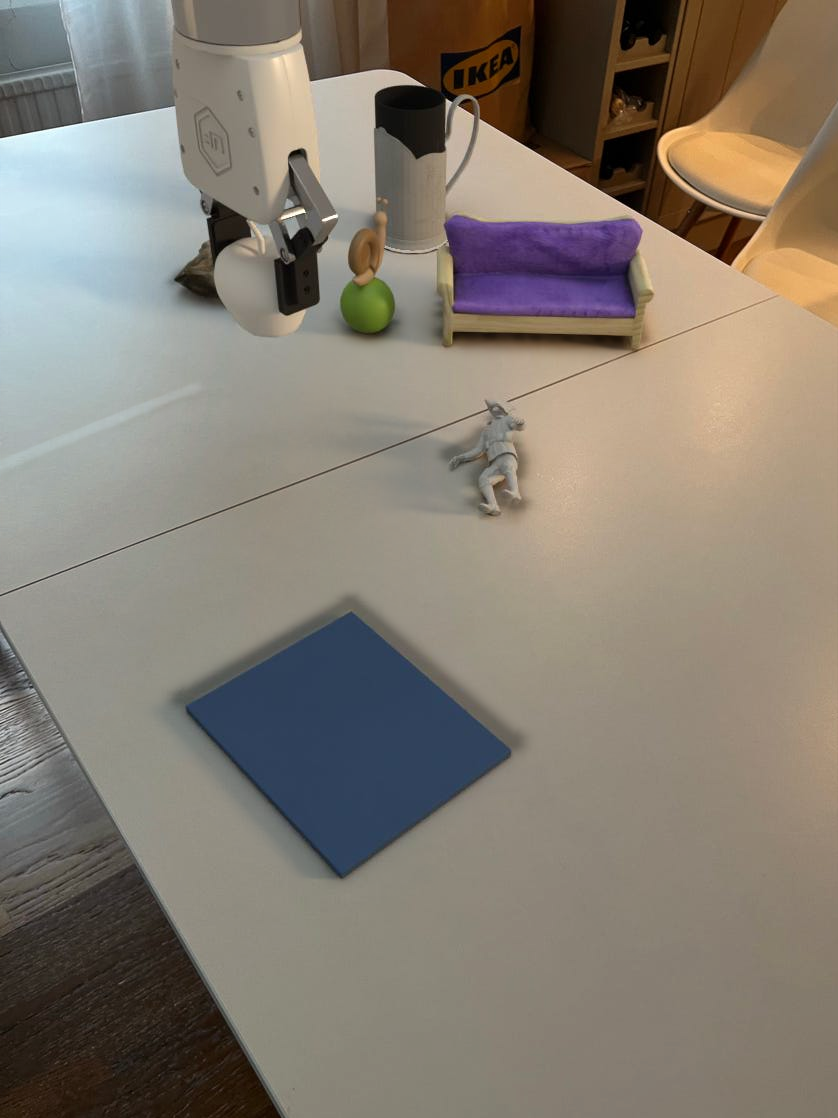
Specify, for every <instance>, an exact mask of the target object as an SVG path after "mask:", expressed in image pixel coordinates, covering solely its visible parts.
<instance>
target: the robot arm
mask: <svg viewBox="0 0 838 1118" xmlns="http://www.w3.org/2000/svg"><path fill="white" fill-rule="evenodd" d="M170 3H171V10H172V11H171V12H172V17H173V25H172V41H171V46H172V47H171V60H172V61H171V63H172V64H171V65H172V83H173V97H174V99H173V100H174V109H175V118H176V119H175V120H176V128H177V129H176V130H177V136H178V146H179V152H180V159H181V164H182V165H181V166H182V170H183V175H184V176H185V178H186V179H187V181H188V182H189V183H190V184H191V185H192V186H193V187H194V188H196V189H197V190H198V191H199V193H200V200H199V205H200V209H201V211H202V213H203V214H204V215H205V216H207V218H206V227H207V233H208V241H209V240H210V247H211V254H212V261H213V268H215V263H216V259H217V257H218V255H219V254H220V252H221V251H222V250H223V249H224V248H225V247H227V246H229V245H231V244H232V243H234V242H236V241H237V240H240V239H242V238H248V237H252V230H251V228H250V226H249V225H248V223H247V221H246V220H247V219H249V220H251V221H253V223H254V224H257V225H260V226H266V225H268V227H269V231H270V233H271V236H273V239H274V241H275V244H276V247H277V250H278V253H279V255H280V258H278V259H275V260H274V268H275V278H276V288H277V298H278V308H279V312H280V313H282V314H283V315H285V316H289V315H291V314H294V313H297V312H299V311H302V310H304V309H307V310H308V309H309V308H311V307H314V306H317V305H318V304H319V303H320V300H321V295H320V279H319V263H318V254H320V253H322V251H323V246H324V245H325V244H326V243H327V242H328V240H329V236H330V235H331V233H332V231H333V230H334V228H335V227H336V225H337V224H338V222H339V217H338V216H339V215H338V213H337V211H336V209H335V207H334V206H333V203H331V201H330V199H329V197H328V196H327V194H326V193H325V191H324V188H323V187H322V179H321V178H322V177H321V175H322V173H321V172H322V171H321V156H320V146H319V135H318V129H317V128H318V127H317V121H316V112H315V105H314V97H313V91H312V85H311V80H310V74H309V70H308V64H307V61H306V60H307V59H306V56H305V50H304V45H303V44H302V43H300V42H301V41H302V38H303V32H302V15H301V1H300V0H170ZM287 200H289V201H290V202H292V204H293V206H290V207H288V208H285V207H286V203H287ZM293 218H295V219H296V221H297V225H298V227H299V229H298V230H297V231H296V232H295V234H294V235H293V236H292V237H291V236H290V234H289V230H288V227H287V226H286V222H285V221H286V220H289V219H293Z"/></svg>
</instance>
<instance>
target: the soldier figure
mask: <svg viewBox="0 0 838 1118" xmlns="http://www.w3.org/2000/svg"><path fill="white" fill-rule="evenodd" d="M483 402H485V405H486V406H487V409H488V412H489V413H490V415H491V416H492V417H493V418H491V419H490V420H489V421H488V422H486V425H487V426H486V427H485V428H484V429H483V430H482V433H481V435H480V437H479V440H478V441H477V444H476V445H475V446H474V448H472V449H471V450H469V451H467V452H463V453H461V454H459V455H455V456H453V457H452V458H451V459H450V460H449V462H448V466H451V464H453V463H454V468H457V466H458V464H459V463H460V462H461V463H463V462H464V463H465V462H468V461H472V460H476V459H479V458H480V457H481V456H484V454H485V455H486V456H487V460H488V466H489V467H486V468H485V469H484V470H483V472H482V473H481V474H480V475H479V476H478V478H477V483H478V490H479V492H480V494H482V495H483V497H484V499H485V500H486V503H483V502H481V503H479V504H478V505H477V509H478V510H479V511H480V512H481V513H483V514H491V515H492V516H499V515H500V514H501V508H500V506H499V504H498V502H497V499H496V496H495V492H494V487H493V486H495V485H496V484H498V483H499V482H502V481H503V480H506V482H507V485H508V487H509V490H508V489H502V491H501V493H500V494H501V497H502V498H503V499H504V500H505V501H511V502H512V503H513V504H520V503H522V496H521V494H520V492H519V486H518V485H519V484H518V476H517V470H518V466H519V465H518V463H519V456H518V454H517V451H516V448H515V445H514V436H515V432H523V431H525V430H526V428H527V427H526V421H525V420H524V419H523V418H521V417H518V416H514V414H513V415H512V414H511V412H513V411H515V410H517V407H516V406H515V405H513V404H512V403H510V402H509V401H508V400H503V399H498V398H495V397H490V398H485V399H484V401H483Z"/></svg>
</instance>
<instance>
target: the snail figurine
mask: <svg viewBox="0 0 838 1118" xmlns="http://www.w3.org/2000/svg"><path fill="white" fill-rule="evenodd" d="M381 201H382V204H383V205H385V212H382V211H380V206H379V211H378V212H376V211H375V213H374V215H373V217H372V218H373V224H374V225H373V229H371V228H368V227H364V228H361V229H359V230H358V231H357V232H355V234H354V236H353V237H352V239H351V241H350V243H349V247H348V252H347V262H348V263H347V264H348V267H349V269H350V271H351V272H352V273H353V274H354V277H352V280H350V281H349V282H348V283H347V284H346V285H345V287H344V288H343V289H342V292H341V295H340V298H339V299H340V301H339V307H340V312H341V315H342V318H343V319H344V321H345V322H346V324H348V326H350V327H351V328H352V329H354V330H355V331H357V332H359V333H364V334H374V333H377V332H380V331H381V330H383V329H385V328H386V327H388V325H389V324H390V322H391V321H392V319H393V317H394V315H395V310H396V301H395V300H396V299H395V296H394V293H393V291H392V289H391V288H390V286H389V285H388V284H387V283H386V282H385V281H384V280H382V279H381V278H379V277H377V276H376V274H377V272H378V271H379V269H380V267H381V265H382V262H383V257H384V254H385V253H384V252H385V249H384V247H385V237H386V232H385V226H386V222H387V216H386V205H387V203H388V201H387V200H386V199H383V200H381V198H379V197H378V198H377V199H376V198H375V203H376V202H377V203H378V204H379V203H381Z"/></svg>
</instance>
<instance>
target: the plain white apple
mask: <svg viewBox="0 0 838 1118" xmlns="http://www.w3.org/2000/svg"><path fill="white" fill-rule="evenodd" d="M246 221H247V223H248V225H249V226H250V228H251V232H252V234H253V235H254V236H251V237H248V238H242V239H240V240H237V241H236V242H234V243H232V244H231V245H229V246H227V247H225V248H224V249H223V250H222V251H221V252H220V254H219V255H218V257H217V259H216V263H215V268H214V281H215V286H216V289H217V293H218V295H219V297H220V298H219V299H220V300H221V302H222V304H223V305H224V306H225V308H226V310H227V312H228V313H229V314H230V316H231V317H232V318H233V320H234V321H235V322H236V324H237V325H238V326H239V327H240V328H242V329H243V330H244V331H247V332H248V333H249V334H251V335H252V336H255V337H260V338H272V339H273V338H275V339H276V338H281V337H284V336H287V335H290V334H292V333H294V332H295V331H297V330H298V329H299V327H300V326H301V323H302V321H303V319H304V317H305V314H306V312H307V310H308V308H307V309H304V310H302V311H299V312H297V313H294V314H291V315H289V316H285V315H283V314H282V313H280V312H279V308H278V298H277V288H276V278H275V268H274V260H275V259H278V258H280V255H279V253H278V250H277V247H276V244H275V241H274V239H273V236H272V235H262V233H261V232H260V230H259V229H258V227H257V225H256V223H255V222H253V221H251V220H249V219H247V220H246Z"/></svg>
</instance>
